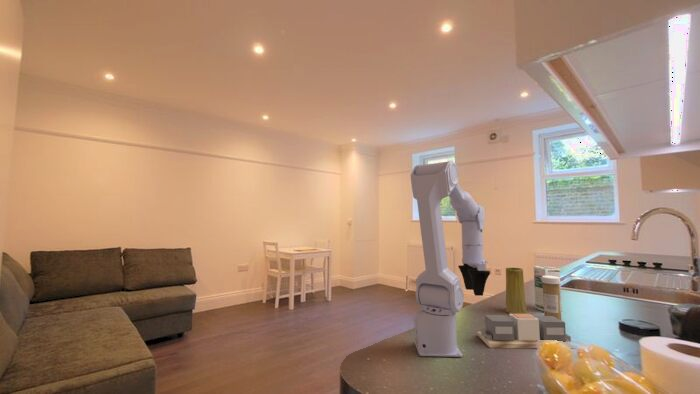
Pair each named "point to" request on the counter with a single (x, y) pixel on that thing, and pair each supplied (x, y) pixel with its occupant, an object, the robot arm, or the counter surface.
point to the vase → (515, 291)
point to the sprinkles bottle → (551, 296)
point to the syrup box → (538, 285)
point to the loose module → (525, 327)
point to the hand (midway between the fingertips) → (474, 292)
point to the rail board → (503, 332)
